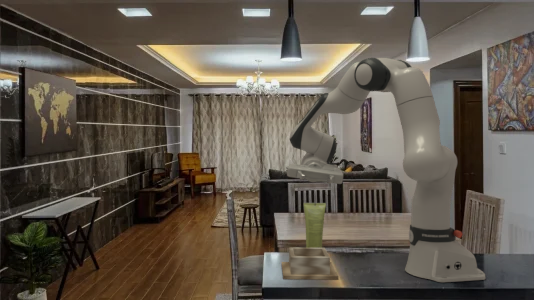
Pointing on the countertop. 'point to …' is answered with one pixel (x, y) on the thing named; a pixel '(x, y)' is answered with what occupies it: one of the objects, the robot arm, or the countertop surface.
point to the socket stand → (308, 264)
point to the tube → (314, 224)
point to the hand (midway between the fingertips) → (316, 179)
